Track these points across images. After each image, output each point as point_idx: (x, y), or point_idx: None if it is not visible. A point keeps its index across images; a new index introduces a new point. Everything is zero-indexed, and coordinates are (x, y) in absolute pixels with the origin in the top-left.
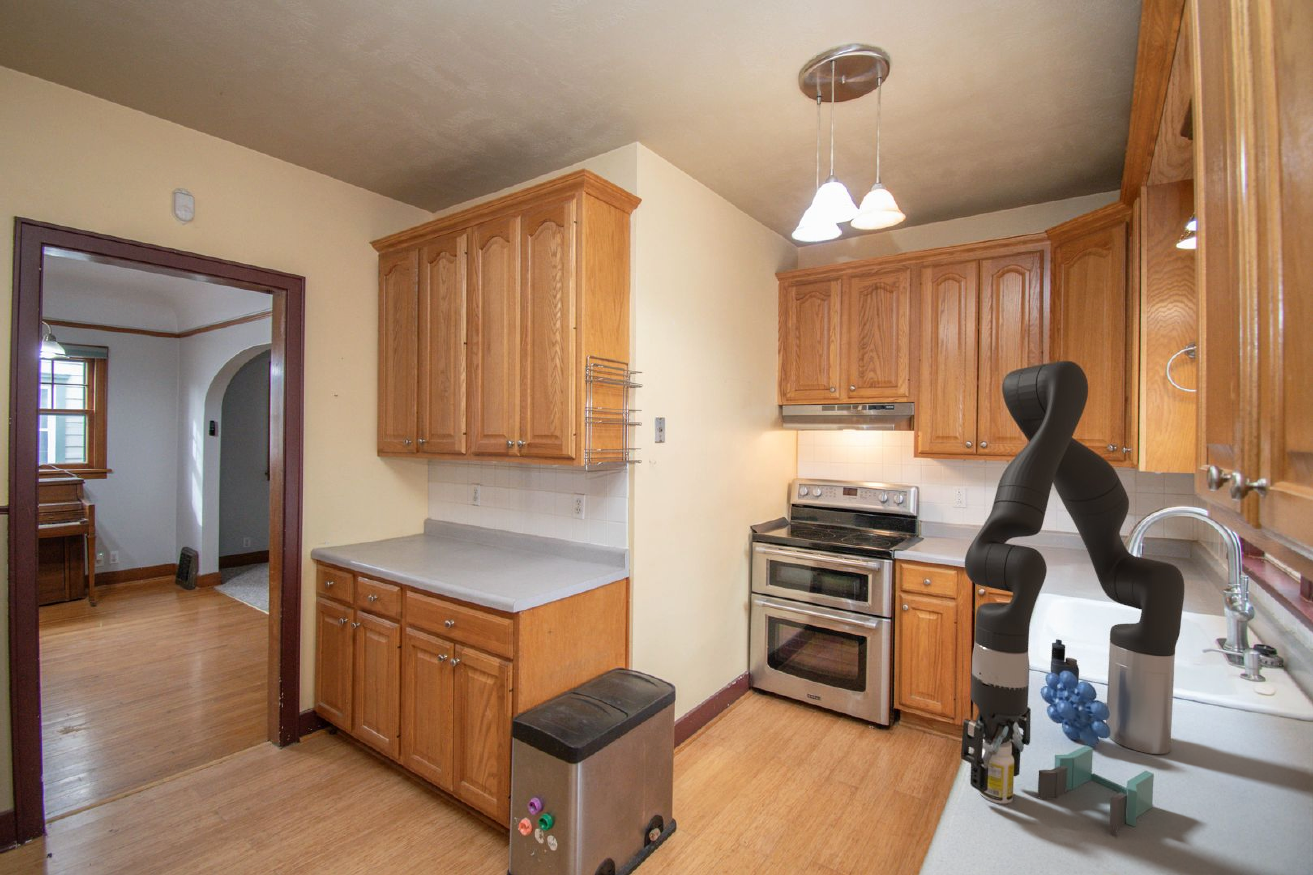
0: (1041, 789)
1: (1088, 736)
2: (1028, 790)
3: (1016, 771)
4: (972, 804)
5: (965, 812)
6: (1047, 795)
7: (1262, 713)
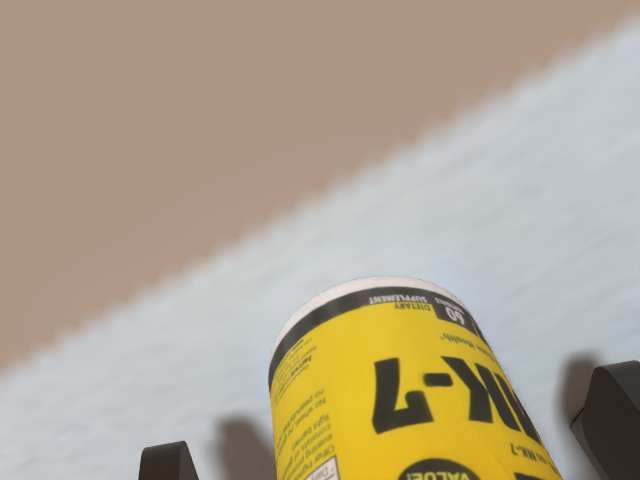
0: (601, 469)
1: None
2: (607, 362)
3: (604, 461)
4: (130, 385)
5: (12, 427)
6: None
7: None
